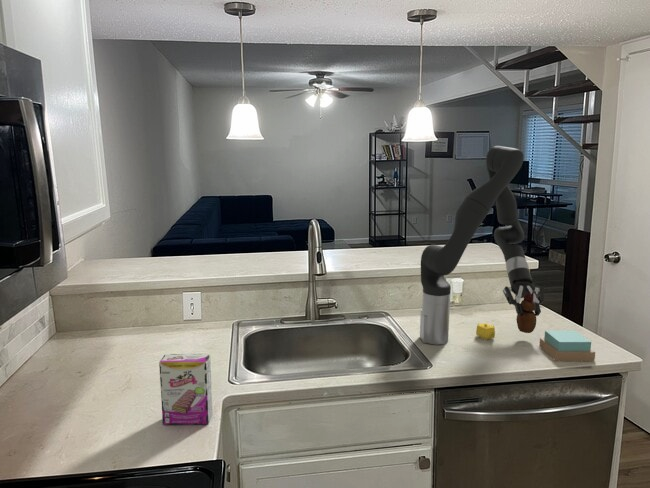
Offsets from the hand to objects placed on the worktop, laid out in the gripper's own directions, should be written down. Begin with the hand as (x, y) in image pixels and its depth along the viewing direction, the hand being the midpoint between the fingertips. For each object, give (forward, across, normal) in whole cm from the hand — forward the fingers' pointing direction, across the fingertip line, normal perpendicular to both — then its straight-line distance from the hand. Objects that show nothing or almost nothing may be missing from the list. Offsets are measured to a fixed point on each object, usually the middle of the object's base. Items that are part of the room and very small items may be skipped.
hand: (529, 314), depth 166 cm
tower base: (+14, +8, 0) cm, 16 cm away
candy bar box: (+43, -104, -26) cm, 115 cm away
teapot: (+5, -13, +10) cm, 17 cm away
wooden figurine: (+4, 0, +6) cm, 7 cm away
